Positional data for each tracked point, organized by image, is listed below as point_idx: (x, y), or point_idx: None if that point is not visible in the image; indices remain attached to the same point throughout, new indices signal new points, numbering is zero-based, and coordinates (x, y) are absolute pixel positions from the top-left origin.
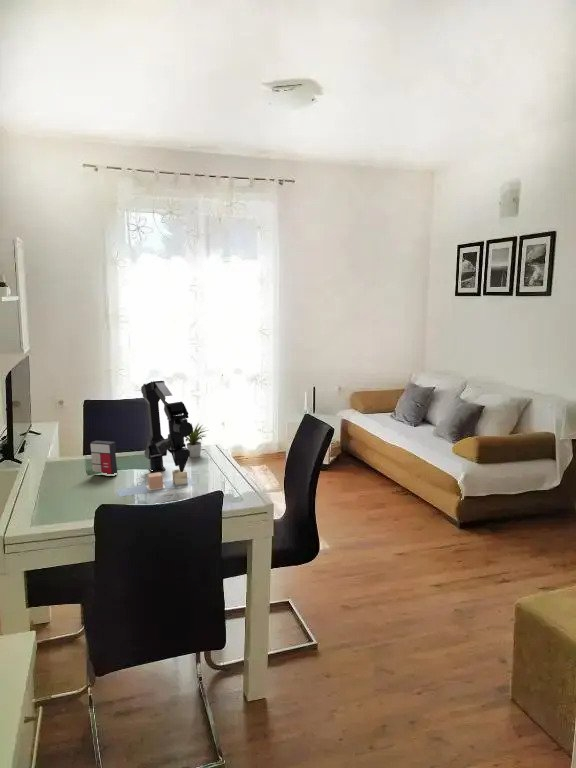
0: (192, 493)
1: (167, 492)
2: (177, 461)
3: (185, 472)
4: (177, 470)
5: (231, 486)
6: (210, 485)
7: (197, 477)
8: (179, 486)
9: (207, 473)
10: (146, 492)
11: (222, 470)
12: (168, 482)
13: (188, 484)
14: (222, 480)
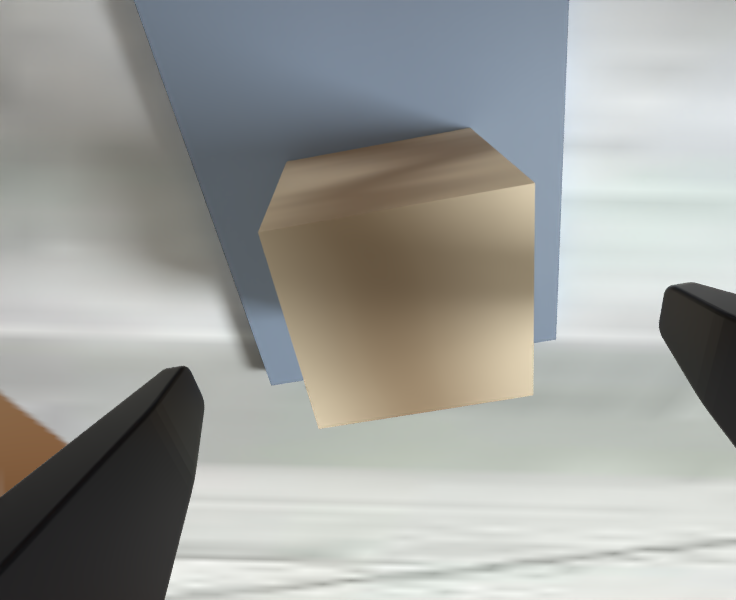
0: (18, 337)
1: (72, 15)
2: (733, 392)
3: (315, 402)
4: (464, 289)
5: (191, 589)
6: (256, 481)
7: (564, 395)
8: (226, 214)
9: (633, 471)
10: None
11: (633, 558)
12: (480, 47)
13: (279, 321)
14: (365, 551)
